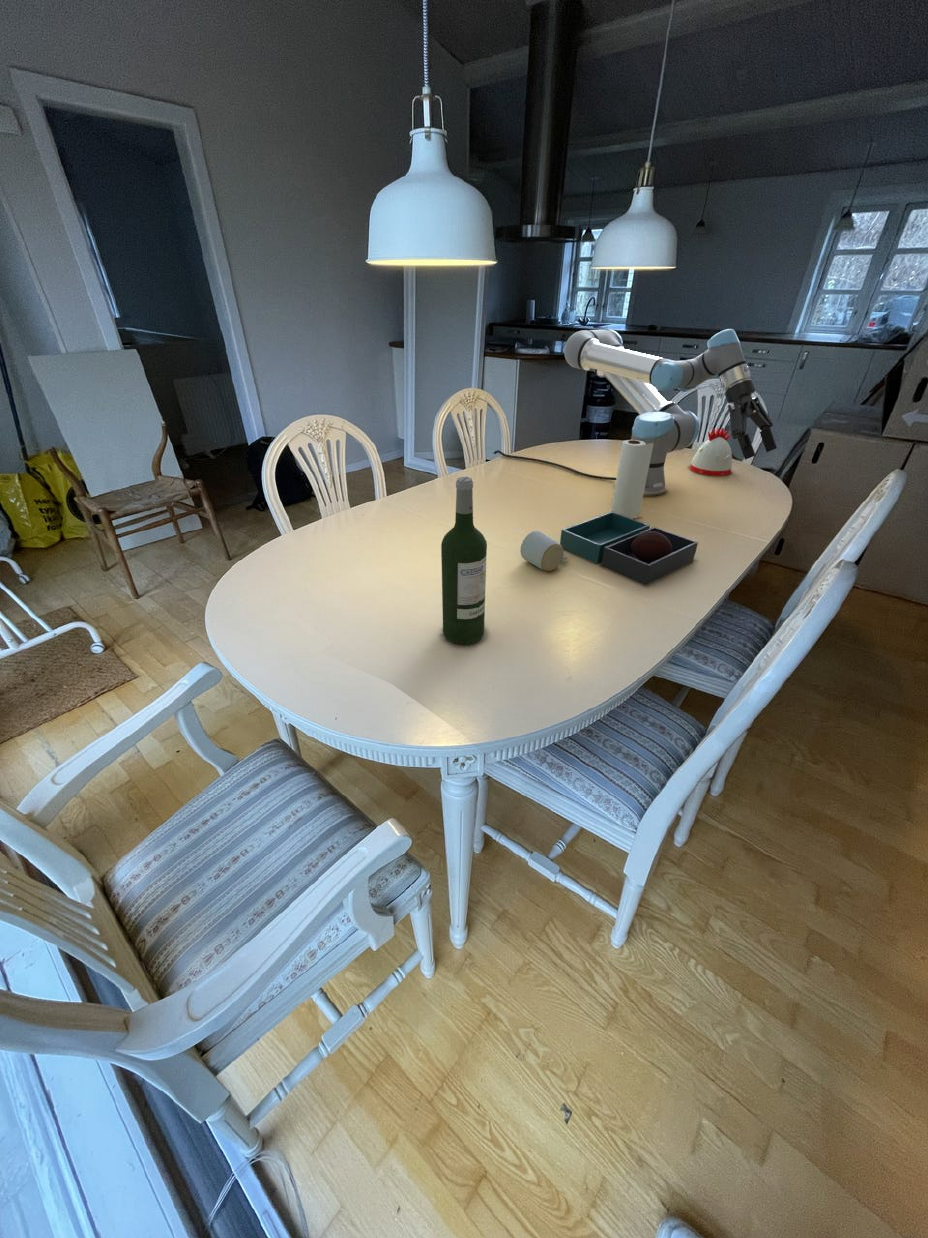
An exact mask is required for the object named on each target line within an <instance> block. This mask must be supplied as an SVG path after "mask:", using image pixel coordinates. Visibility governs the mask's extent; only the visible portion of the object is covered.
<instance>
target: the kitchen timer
mask: <svg viewBox="0 0 928 1238" xmlns="http://www.w3.org/2000/svg"><path fill="white" fill-rule="evenodd" d="M727 433H728V430H725V428H724V427H717V429H715V428H712V429H711V432H710V431H707V437H708V439H707V440H705V441H704V442H703V443H702V444H701V445H700V446H699V448H698V449H697V451H696V452H695V454H694V456H693V458H692V460H691V462H690V465H689V469H690V471H692V472H695V473H696V474H701V475H707V476H713V477H715V476H716V477H717V476H719V477H720V476H727V475H730V474H731V470H732V468H733V454H732V449H731V447H730V444H729V442H728V439H729V437H730V436H731V433H728V434H727Z"/></svg>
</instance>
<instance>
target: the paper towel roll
mask: <svg viewBox="0 0 928 1238" xmlns="http://www.w3.org/2000/svg"><path fill="white" fill-rule="evenodd" d="M653 444H654V443H650V444H646V443H645V442H643V441H638V440H631V439H625V440H623V441H622V442H621V448H620V453H619V454H620V455H619V459H618V467H617V472H616V477H615V478H616V480H615V484H614V491H613V495H612V496H613V497H612V502H611V508H610V512H614V513H617V514H619V515H622V516H625V517H628V518H631V519H635V518H640V513H641V508H642V504H643V499H644V496H643V494H644V489H645V484H646V479H647V474H648V469H649V464H650V459H651V454H652V449H653Z"/></svg>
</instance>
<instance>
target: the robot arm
mask: <svg viewBox="0 0 928 1238" xmlns="http://www.w3.org/2000/svg"><path fill="white" fill-rule="evenodd" d="M623 343H624V342H623V338H622V336H621V335H620V334H619V333H618V332H617V331H615V330H614V329H610V328H600V329H585V330H579V331H576V332H574V333H573V334H571V335H570V336H569V337H568V339H567V341H566V342H565V346H564V350H563V351H564V352H563V353H564V358H565V361H566V363H567V364H568V365H569V366H571V367H572V368H574V369H579V370H583V371H591V370H592V371H593V372H594V373H595V374H596V375H597V376H598V377H599V378H606V380H607V381H608V382H609V383H611V385H612V386H613V387H614V388H615V390H617V391H618V393H619V394H620V395H621V396H622V397H623V398H624V399H625V400H626V402H628V403H629V405H630V406H631V407H632V408H633V409H634V411H636V412H637V413H638V415H637V416H636V417H635V419H634V423H633V426H632V428H631V437H630V440H638V441H643V442H645V443H646V444H650V443H654V444H653V449H652V454H651V459H650V464H649V469H648V474H647V479H646V484H645V489H644V494H643V497H654V496H660V495H663V494H664V493H665V491H666V477H665V464H666V459H667V454H669V453H672V452H676V451H681V450H684V449H686V448H688V447H690V446H691V445H693V444H694V442H696V440H697V438H698V436H699V433H700V426H701V425H700V421H699V418H698V417H697V415H696V414H695V413H694V412H692V411H690V410H683V409H682V408H681V406H679V405H678V404H677V402H675V401H667V400H666V399H665V397H663V396H662V395H661V394H660V392H658V391H661V392H662V391H664V392H669V391H673V390H678V391H681V393H686V392H689V391H691V390H693V389H695V388H697V387H698V386H699V385H701V384H703V383H705V382H706V381H708V380H709V379H711V378H712V377H714V376H716V375H717V376H718V380H719V382H720V386H721V388H722V390H723V391H724V396H725V399H726V402H727V404H728V405H727V409H728V412H729V422H730V423H729V424H730V436H731V437H732V439H733V440H736V439H737V441H738V443H739V447H740V450H741V452H742V455H743V457H744V458H743V459H744V460H745V461H746V460H748V459H751V458H753V457H755V456H756V453H755V450H754V446H753V443H752V441H751V437H750V435H749V433H747V424H748V418H750V419H751V421H752V422H753V423H754V424H755V426H756V427H757V428H758V429H759V430H760V431H759V435H760V437H761V441H762V442H763V446H764V449H765V453H769V452H771V451H773V450H776V449H777V448H778V447H777V445H776V441H775V439H774V435H773V432H772V429H771V427H773V426H774V423H773V420H772V419H771V418H770V416H769V414H768V412H767V411H766V409H765V408H764V407H763V405H762V403H761V401H760V398H759V397H758V396H755V397H752V394H754V393H755V392H756V387H755V385H754V384H755V383H754V381H753V379H751V378H752V377H751V376H752V375H751V373H750V365H748V364H747V361H746V359H745V356H744V353H743V349H742V346H741V341H740V340H739V338H738V336H737V333H736V331H735V329H733V328H727V329H723V330H721V331H720V332H717V333H715V334H714V335H713V336H711V338H709V339H708V340H707V343H706V344H707V349H706V350H704V352H703V353H701V354H699V355H697V356H696V357H694V358H692V359H683V360H672V359H669V358H664V357H659V356H655V355H651V354H646V353H642V352H638V351H634V350H630V349H625V347H624V345H623ZM497 454H500V455H501V456H503V457H506V458H510V459H518V460H524V461H531V462H537V463H543V464H546V465H551V466H554V467H558V468H561V469H564V470H567V471H569V472H573V473H575V474H577V475H580V476H582V477H587V478H592V479H598V480H604V481H616V478H617V477H614V476H613V477H612V476H601V475H595V474H589V473H587V472H586V473H585V472H582V471H579V470H577V469H574V468H571V467H568V466H566V465H563V464H561V463H560V464H559V463H556V462H552V461H549V460H543V459H538V458H533V457H527V456H520V455H511V454H506V453H504V452H503V451H501V450H499V449H497V450H495V451H493V455H497Z"/></svg>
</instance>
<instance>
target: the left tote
mask: <svg viewBox="0 0 928 1238" xmlns="http://www.w3.org/2000/svg"><path fill="white" fill-rule="evenodd" d="M650 528H651V525H650V524H648V523H644V522H642V521H639V520H636V519H635V518H633V519H631V518H628V517H625V516H622V515H619V514H617V513H614V512H611V511H610V512H607V513H604V514H602V515H598V516H596V517H593V518H590V519H587V520H584V521H582V522H579V523H576V524H574V525H571V526H568V527H564V528H562V529H561V531H560V539H559V544H560V545H561V546H562V547H563V550H564V551H567V552H569V553H570V554H573V555H575V556H577V557H580V558H583V559H585V560H587V561H589V562H591V563H593V564H596V565H599V564H602V558H603V552H604V547H606V546H609V545H611V544H614V543H616V542H619V541H621V540H623V539H626V538H628V537H631V536H633V535H636V534H638V533H640V532H643V531H645V530H648V529H650Z"/></svg>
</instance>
